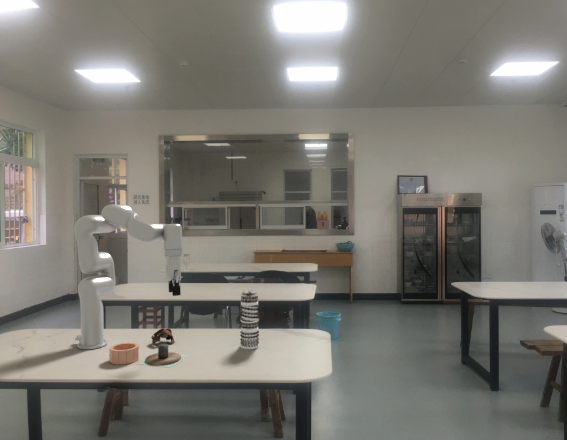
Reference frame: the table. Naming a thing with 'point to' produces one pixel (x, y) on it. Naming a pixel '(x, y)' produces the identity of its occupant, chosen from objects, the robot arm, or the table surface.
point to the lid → (163, 356)
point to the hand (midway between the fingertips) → (174, 293)
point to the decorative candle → (249, 320)
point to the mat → (163, 365)
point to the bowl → (124, 353)
